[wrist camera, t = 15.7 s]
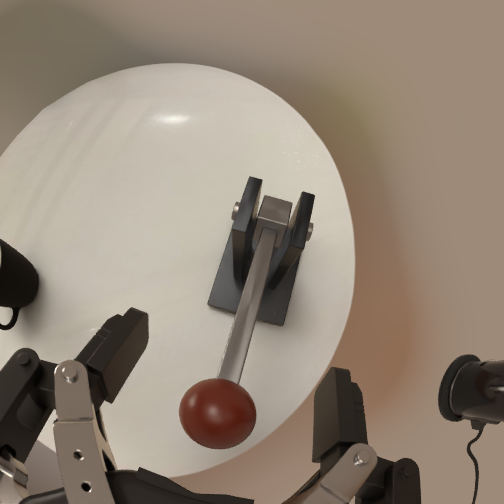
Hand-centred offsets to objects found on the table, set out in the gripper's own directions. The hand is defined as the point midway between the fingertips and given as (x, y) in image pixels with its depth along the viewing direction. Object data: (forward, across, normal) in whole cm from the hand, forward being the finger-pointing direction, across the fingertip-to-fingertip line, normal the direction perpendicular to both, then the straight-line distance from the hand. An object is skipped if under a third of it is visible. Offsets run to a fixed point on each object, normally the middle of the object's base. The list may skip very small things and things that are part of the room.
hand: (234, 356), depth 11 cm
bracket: (+22, 0, +8) cm, 23 cm away
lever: (+6, 0, +2) cm, 6 cm away
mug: (+11, +33, +18) cm, 39 cm away
